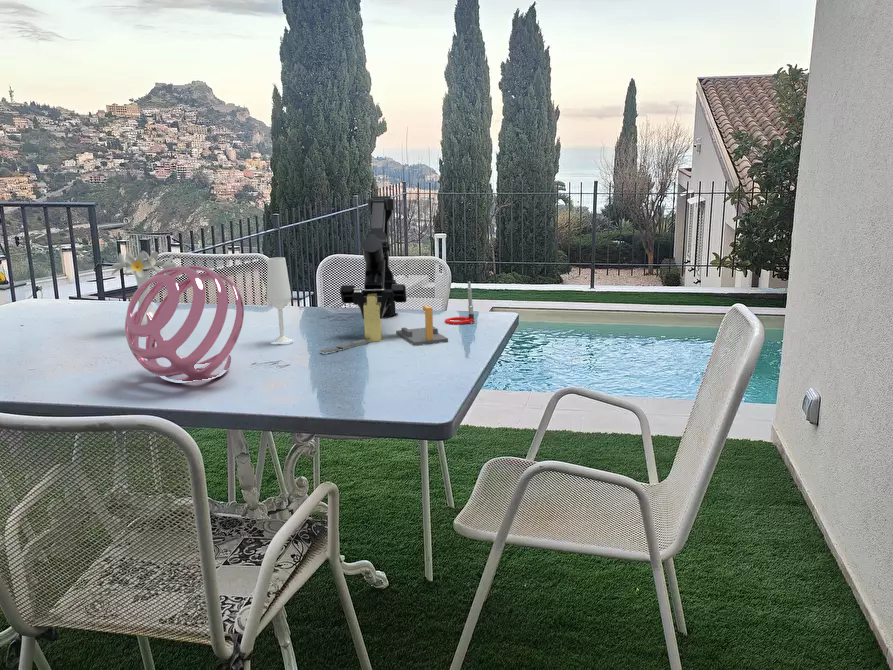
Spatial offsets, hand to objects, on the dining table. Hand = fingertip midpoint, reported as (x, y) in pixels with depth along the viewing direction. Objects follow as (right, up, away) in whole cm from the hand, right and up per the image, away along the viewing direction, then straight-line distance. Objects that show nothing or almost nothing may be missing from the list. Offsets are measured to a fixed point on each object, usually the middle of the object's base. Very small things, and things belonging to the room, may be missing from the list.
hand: (372, 318), depth 203 cm
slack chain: (-7, -8, -6) cm, 13 cm away
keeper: (+14, -6, +4) cm, 15 cm away
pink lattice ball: (-41, -15, -32) cm, 54 cm away
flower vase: (-70, -4, +18) cm, 73 cm away
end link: (0, -6, +3) cm, 7 cm away
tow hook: (+25, -1, +24) cm, 35 cm away
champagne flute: (-26, -7, +2) cm, 27 cm away
